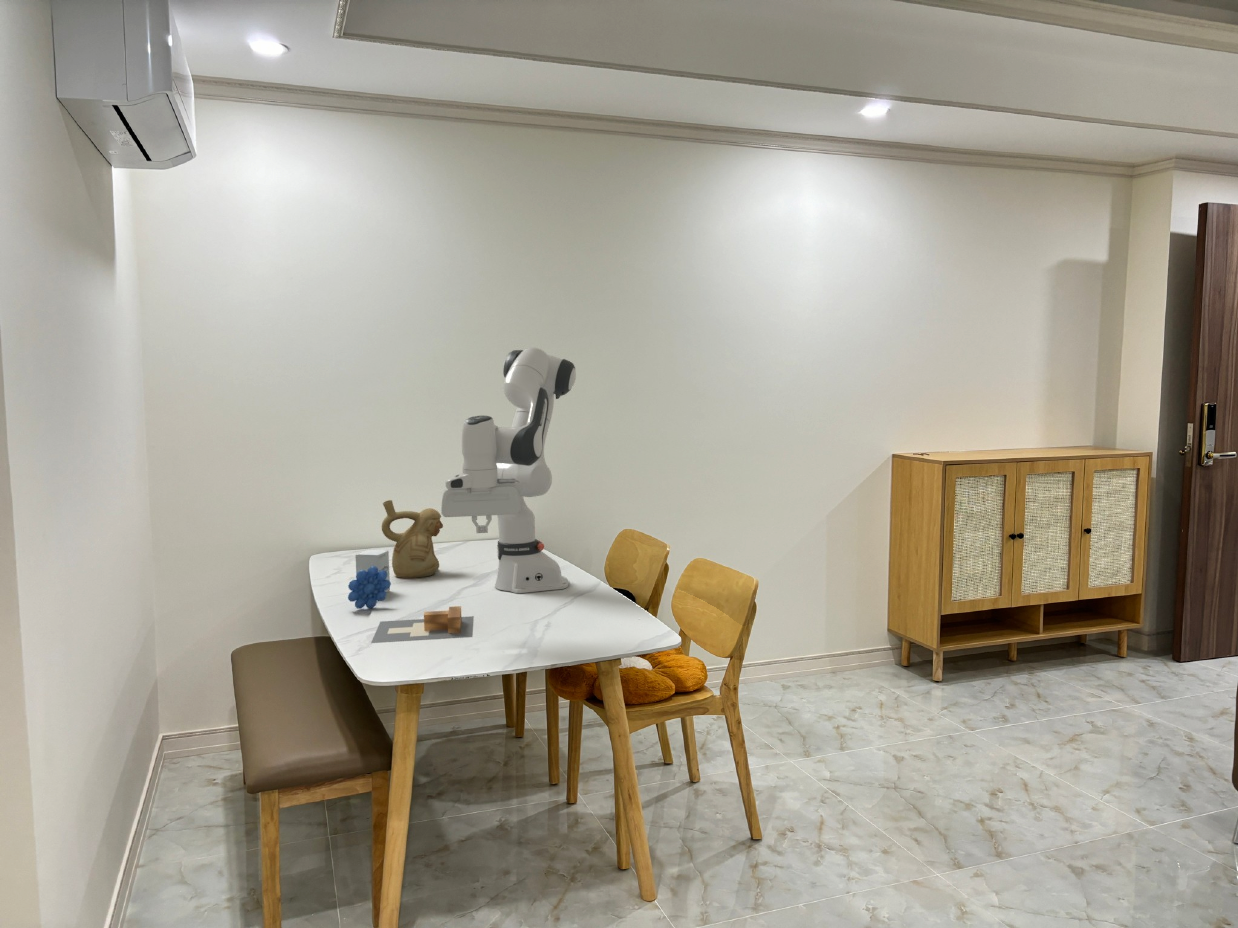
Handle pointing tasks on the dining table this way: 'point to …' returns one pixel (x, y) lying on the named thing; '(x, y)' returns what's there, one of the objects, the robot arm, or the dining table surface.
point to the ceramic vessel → (413, 542)
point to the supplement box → (373, 561)
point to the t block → (444, 620)
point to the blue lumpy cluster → (368, 587)
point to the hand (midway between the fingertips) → (482, 532)
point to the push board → (417, 631)
